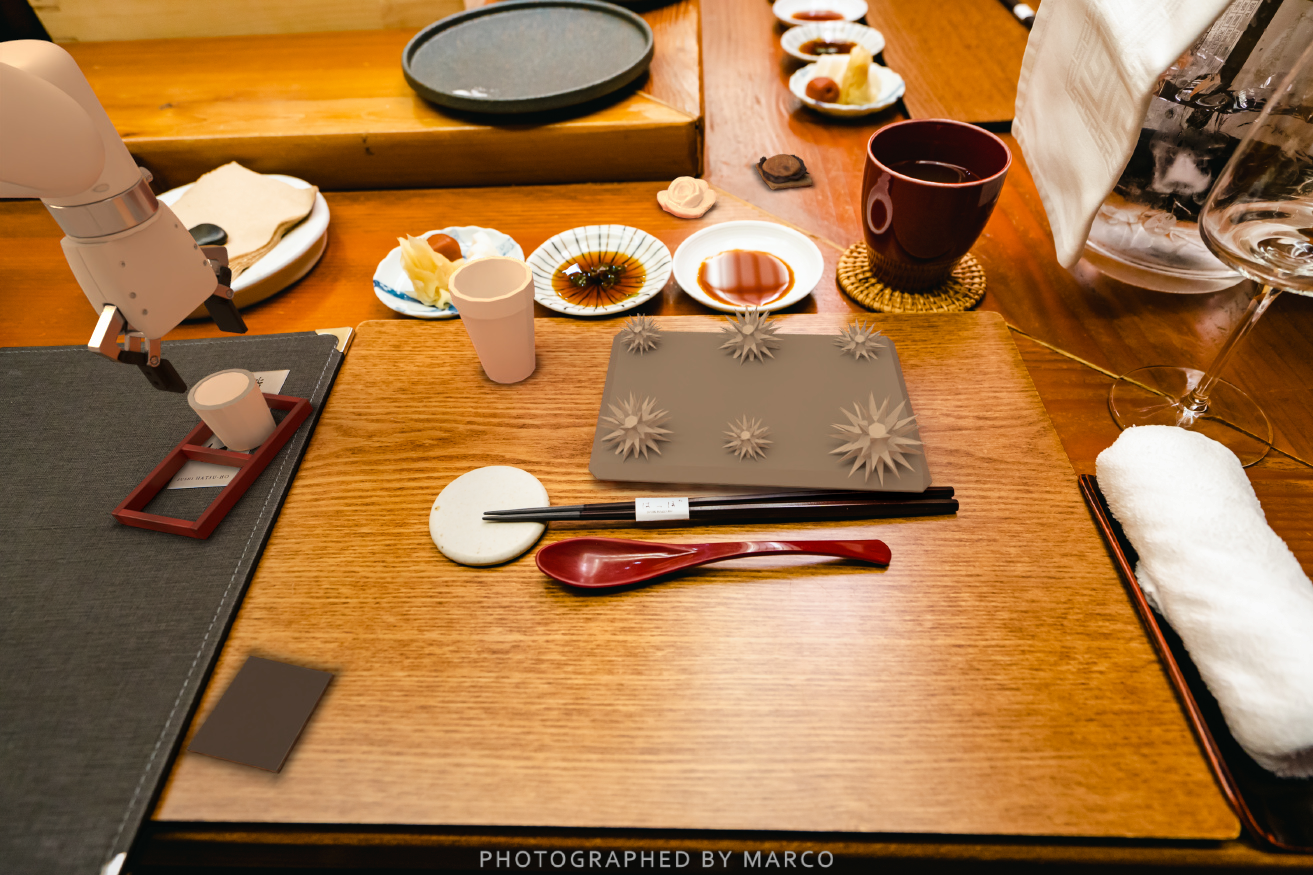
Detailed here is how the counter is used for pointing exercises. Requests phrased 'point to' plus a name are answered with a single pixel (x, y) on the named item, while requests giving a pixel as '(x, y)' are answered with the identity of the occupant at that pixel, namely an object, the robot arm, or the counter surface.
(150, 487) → the frame
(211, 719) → the slate mat
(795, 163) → the chocolate cookie
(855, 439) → the decorative tray
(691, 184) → the rose
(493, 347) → the foam cup
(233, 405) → the pink candle cup
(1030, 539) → the counter surface
